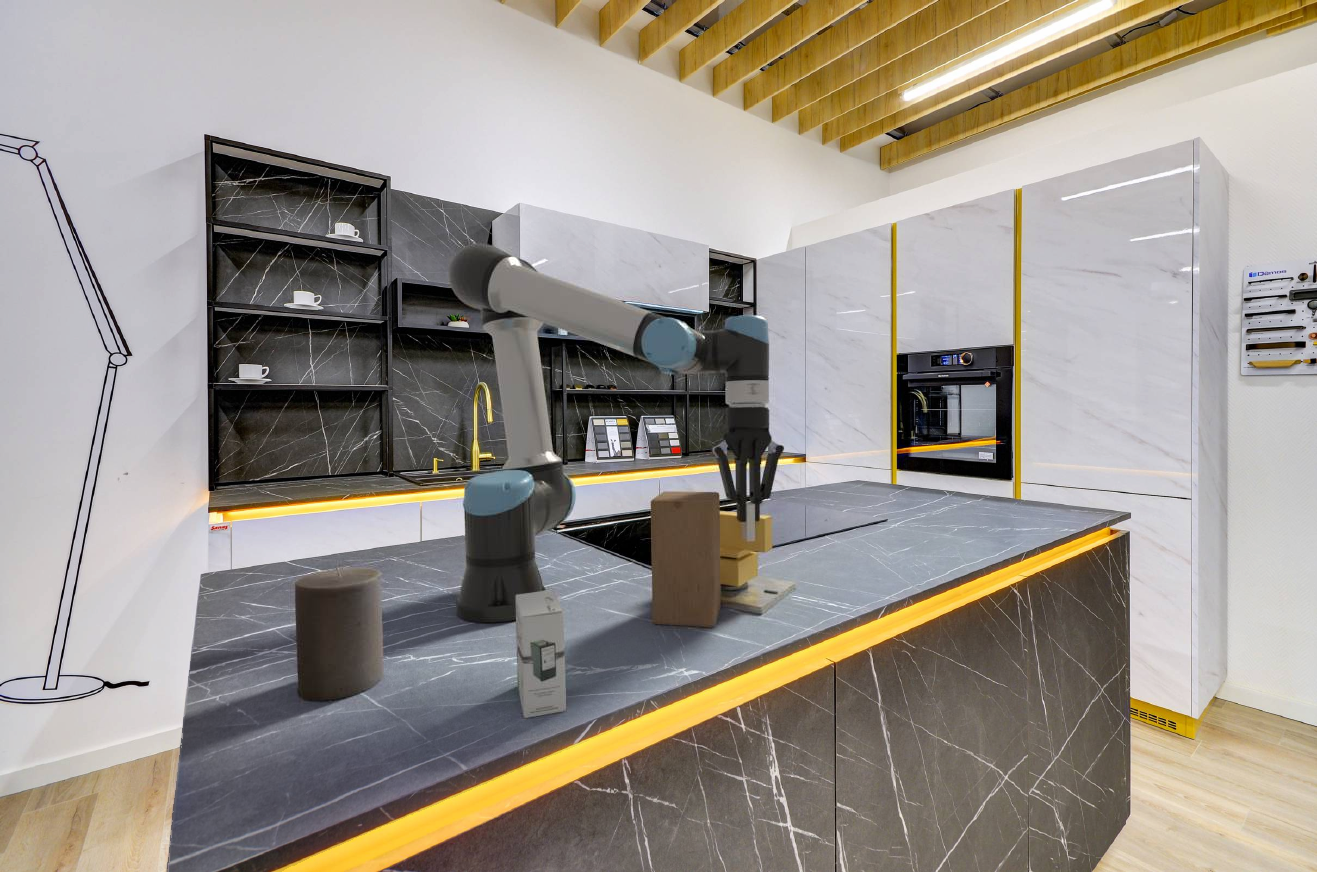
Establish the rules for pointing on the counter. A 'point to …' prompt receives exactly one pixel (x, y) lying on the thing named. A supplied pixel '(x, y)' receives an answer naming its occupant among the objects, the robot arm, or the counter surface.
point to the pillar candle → (338, 633)
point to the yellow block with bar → (741, 548)
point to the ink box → (540, 653)
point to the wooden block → (686, 558)
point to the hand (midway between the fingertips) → (748, 539)
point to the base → (755, 593)
